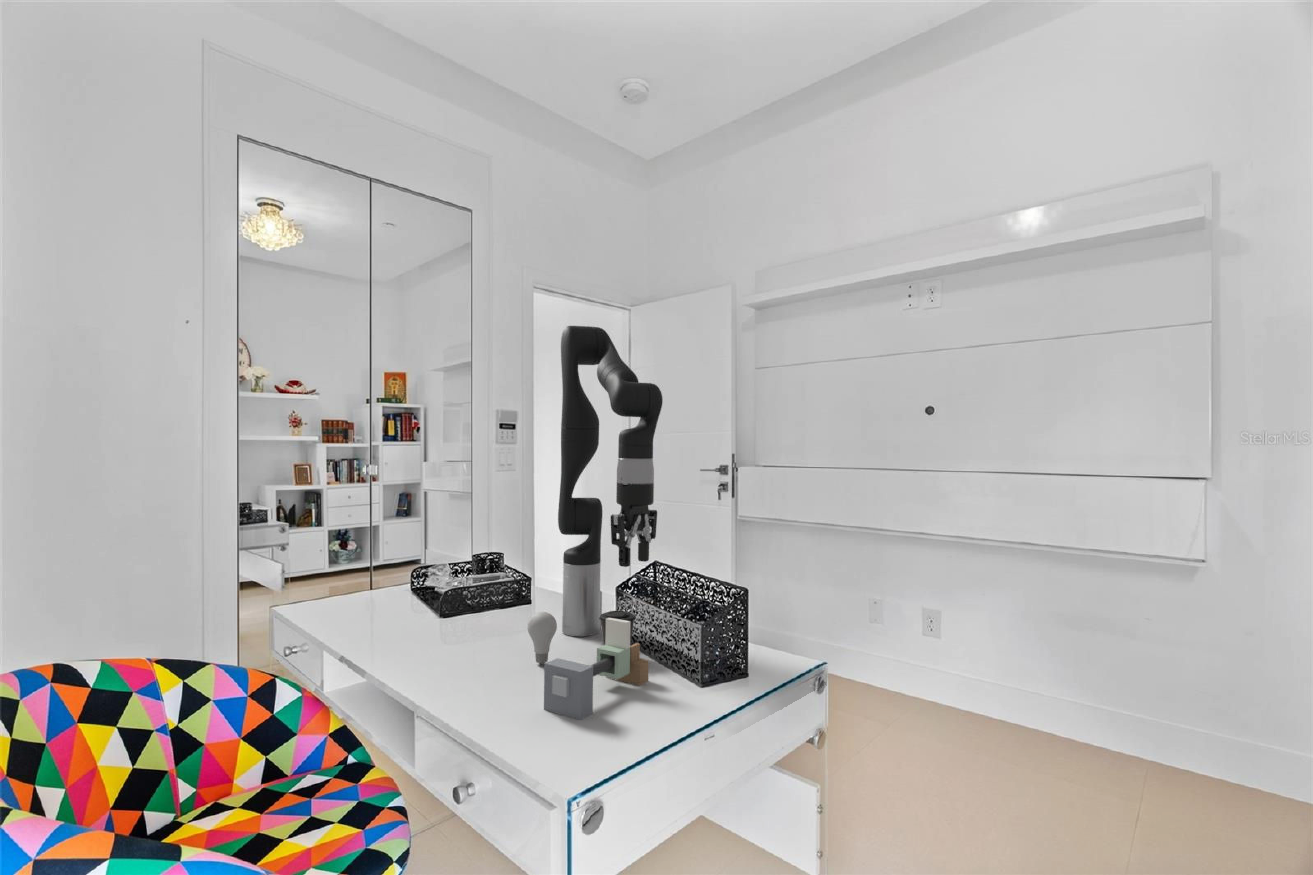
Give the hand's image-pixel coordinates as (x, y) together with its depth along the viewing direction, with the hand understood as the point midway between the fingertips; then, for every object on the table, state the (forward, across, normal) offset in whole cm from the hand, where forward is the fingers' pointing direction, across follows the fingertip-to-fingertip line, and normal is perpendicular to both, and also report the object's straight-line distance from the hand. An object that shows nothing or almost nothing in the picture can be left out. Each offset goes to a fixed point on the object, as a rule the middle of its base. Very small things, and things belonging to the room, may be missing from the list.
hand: (634, 563), depth 133 cm
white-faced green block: (+20, +7, 0) cm, 21 cm away
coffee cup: (+23, -8, -9) cm, 26 cm away
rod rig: (+23, +11, 0) cm, 25 cm away
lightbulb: (+23, +4, -20) cm, 31 cm away
